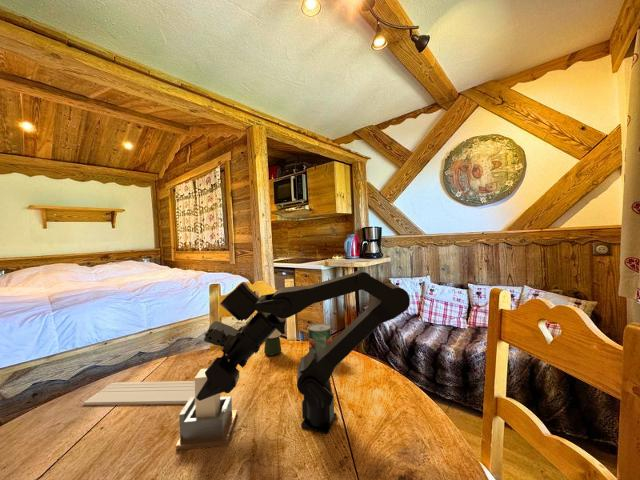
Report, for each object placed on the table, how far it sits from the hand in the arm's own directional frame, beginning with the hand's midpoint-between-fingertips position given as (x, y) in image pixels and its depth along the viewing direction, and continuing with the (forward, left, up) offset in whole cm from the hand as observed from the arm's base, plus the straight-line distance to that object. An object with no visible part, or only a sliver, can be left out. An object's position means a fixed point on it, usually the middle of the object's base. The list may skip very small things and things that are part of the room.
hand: (205, 386), depth 60 cm
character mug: (+8, -39, -10) cm, 41 cm away
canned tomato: (-10, -41, -10) cm, 44 cm away
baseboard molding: (+26, -7, -11) cm, 29 cm away
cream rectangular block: (0, 0, -9) cm, 9 cm away
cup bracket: (0, 0, -10) cm, 10 cm away
